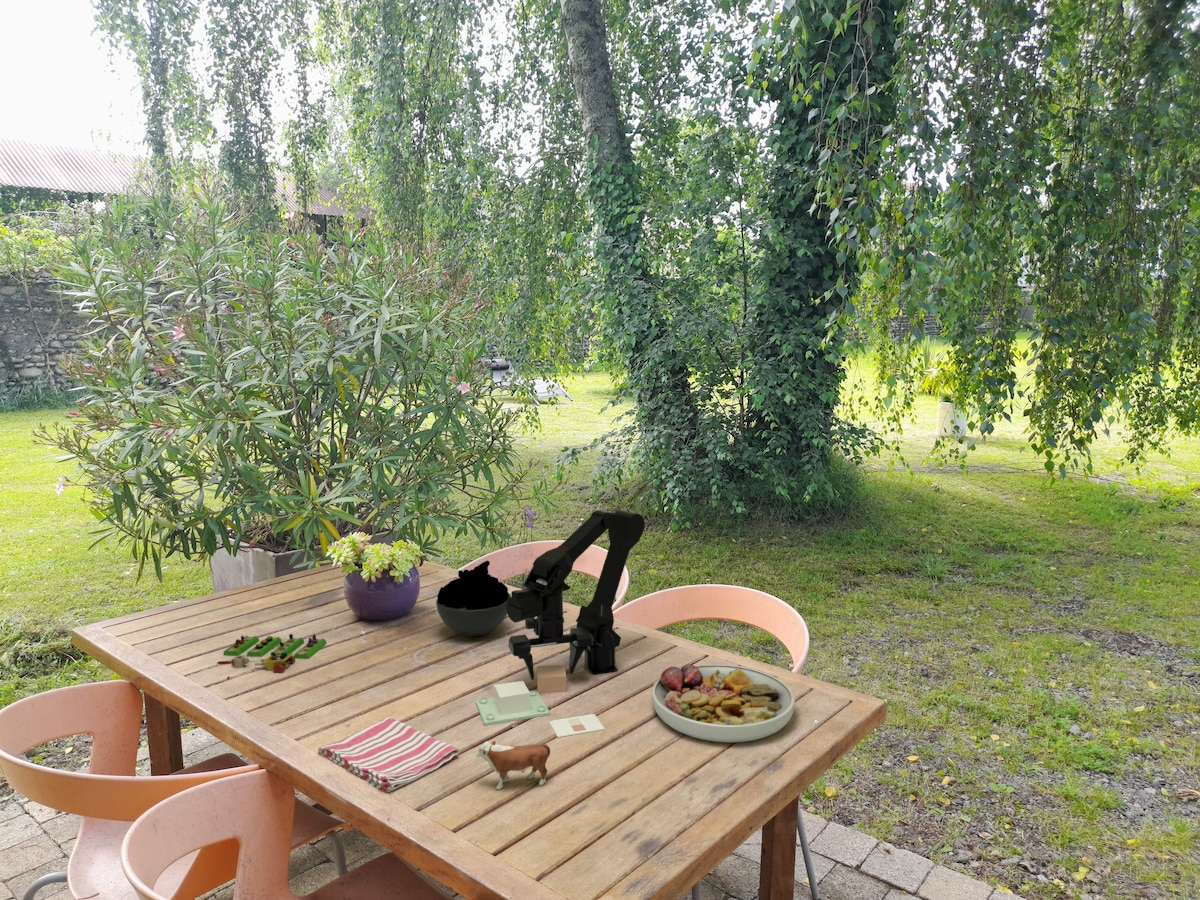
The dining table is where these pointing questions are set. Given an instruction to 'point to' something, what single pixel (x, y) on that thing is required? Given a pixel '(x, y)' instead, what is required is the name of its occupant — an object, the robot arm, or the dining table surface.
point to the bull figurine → (515, 759)
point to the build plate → (493, 716)
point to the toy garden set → (278, 657)
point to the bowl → (722, 702)
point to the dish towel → (389, 754)
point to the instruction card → (576, 725)
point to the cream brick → (512, 697)
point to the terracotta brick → (551, 679)
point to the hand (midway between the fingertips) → (551, 676)
